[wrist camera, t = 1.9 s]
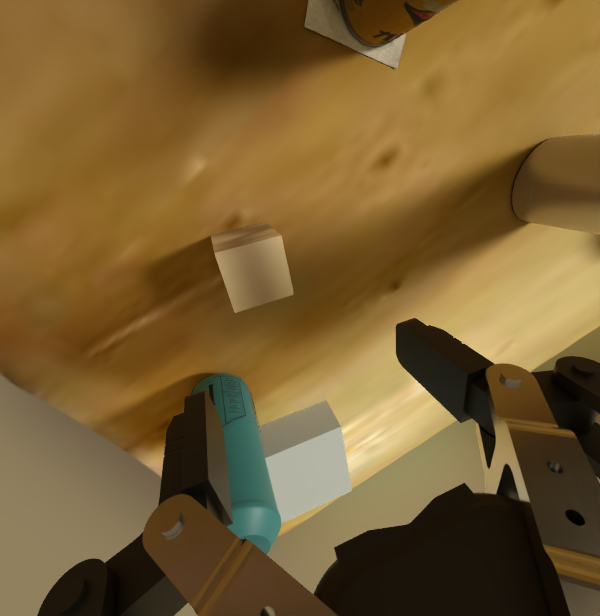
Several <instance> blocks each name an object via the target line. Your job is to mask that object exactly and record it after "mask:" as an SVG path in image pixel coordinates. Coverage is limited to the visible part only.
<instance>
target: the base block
mask: <svg viewBox="0 0 600 616" xmlns="http://www.w3.org/2000/svg"><path fill="white" fill-rule="evenodd" d="M258 429H259V433H260V438H261V444H262V448H263V452H264V456H265V460H266V464H267V468H268V472H269V476H270V480H271V484H272V489H273V493H274V497H275V501H276V505H277V509H278V511H279V514H280V517H281V524H282V523H284V522H286V521H288V520H290V519H292V518H295V517H297V516H299V515H301V514H303V513H305V512H307V511H309V510H312V509H314V508H316V507H318V506H320V505H322V504H324V503H327V502H329V501H331V500H333V499H335V498H337V497H339V496H342V495H344V494H346V493H348V492H350V491H352V489H351V483H350V477H349V471H348V465H347V459H346V453H345V448H344V442H343V436H342V430H341V426H340V424H339V422H338V420H337V419H336V417H335V415H334V413H333V411H332V410H331V408H330V406H329V404H328V402H327V401H326V400H325V401H323V402H320V403H318V404H315V405H313V406H310V407H308V408H305V409H303V410H300V411H297V412H295V413H292V414H290V415H287V416H285V417H282V418H280V419H277V420H275V421H272V422H270V423H267V424H264V425H262V426H259V428H258ZM260 430H261V432H260ZM262 440H263V441H262Z"/></svg>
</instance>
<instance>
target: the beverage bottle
mask: <svg viewBox="0 0 600 616" xmlns="http://www.w3.org/2000/svg"><path fill="white" fill-rule="evenodd" d="M204 390H207V392H208V393H209V396H210V398H211V400H212V402H213V405H214V407H215V409H216V411H217V413H218V416H219V418H220V421H221V424H222V428H223V433H224V442H225V452H226V461H227V471H228V480H229V489H230V499H231V508H232V518H233V524H231V525H229V526H226V527H227V528H228V529H230V530H231V531H232V532H233V533H234V534H235V535H237V536H238V537H239V538H240V539H242V540H243V539H247V540H249V541H250V542H252V543H253V544H254V545H256V546H257V547H258V548H259V549H260V550H262V551H263V552H264V553H265V554H266V555H267V553H268V552H269V550H270V549H271V547H272V545H273V543H274V542H275V539H276V538H277V536H278V533H279V531H280V528H281V517H280V514H279V511H278V509H277V505H276V501H275V497H274V493H273V489H272V484H271V480H270V476H269V472H268V468H267V464H266V460H265V456H264V452H263V448H262V444H261V438H260V433H259V429H258V428H259V426H258V425H257V421H256V417H255V415H256V411H255V413H254V409H255V406H254V408H253V404H254V402H253V404H252V400H253V399H252V395H251V396H250V392H249V389H248V387H247V385H246V384H245V382H244V381H243V380H242V379H240V378H239V377H237V376H235V375H232V374H215V375H212V376H209V377H207V378H205V379H203V380H202V381H200V382H199V383H198V384H197V385H196V387H195V388H194V390H193V391H192V394H190V395H193V394H196V393H198V392H201V391H204ZM251 399H252V400H251ZM256 416H257V415H256ZM260 432H261V430H260ZM262 441H263V440H262Z"/></svg>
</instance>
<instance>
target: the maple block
mask: <svg viewBox="0 0 600 616" xmlns="http://www.w3.org/2000/svg"><path fill="white" fill-rule="evenodd" d="M211 240H212V245H213V249H214V254H215V257H216V260H217V263H218V265H219V268H220V271H221V274H222V277H223V280H224V283H225V286H226V289H227V292H228V295H229V298H230V301H231V304H232V307H233V310H234V312H235V313H237V312H240V311H243V310H247V309H250V308H253V307H256V306H259V305H263V304H266V303H269V302H272V301H275V300H279V299H282V298H285V297H288V296H291V295H294V292H293V287H292V282H291V278H290V273H289V268H288V264H287V259H286V255H285V250H284V245H283V241H282V236H281V235H280V234H279V233H278V232H277V231H276V230H274V229H273V228H272V227H271V226H269V225H268V224H267V223H266V222H262V223H258V224H254V225H250V226H246V227H243V228H239V229H235V230H231V231H227V232H223V233H219V234H215V235H211Z"/></svg>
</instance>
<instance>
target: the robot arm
mask: <svg viewBox="0 0 600 616" xmlns="http://www.w3.org/2000/svg"><path fill="white" fill-rule="evenodd" d="M512 205H513V209H514V212H515V214H516V216H517V217H518V218H519V219H521V220H522V221H525V222H530V223H536V224H542V225H548V226H554V227H559V228H564V229H570V230H576V231H582V232H588V233H594V234H599V235H600V134H589V135H576V136H563V137H555V138H550V139H548V140H546V141H544V142H543V143H541V144H540V145H539V146H538V147H536V148H535V149H534V150H533V152H532V153H531V154H530V155H529V156H528V157H527V159H526V160H525V162H524V163H523V165H522V167H521V169H520V171H519V172H518V175H517V178H516V180H515V183H514V188H513V193H512ZM396 355H397V358H398V361H399V362H400V364H401V365H402V366H403V368H405V369H406V370H407V371H408V372H409V373H410V374H411V375H412V376H413V377H414V378H415V379H416V380H417V381H418V382H419V383H420V384H421V385H422V386H423V387H424V388H425V389H426V390H427V391H428V392H429V393H430V394H431V395H432V396H433V397H434V398H435V399H436V400H437V401H439V402H440V403H441V404H442V405H443V406H444V407H445V408H446V409H447V410H448V411H449V412H450V413H451V414H452V415H453V416H454V417H455V418H456V419H457V420H458V421H459V422H460V423H462V422H465V421H467V420H469V419H471V418H472V419H474V420H475V421H476V422H477V424H476V432H477V437H478V442H479V448H480V452H481V458H482V463H483V468H484V474H485V493H473V492H472V491H471V490H470V489H469V487H468V486H467V485H466V484H465V483H463V484H461V485H459V486H458V487H455V488H453V489H451V490H449V491H447V492H445V493H443V494H441V495H439V496H437V497H435V498H434V499H433V500H432V501H431V502H430V503H429V504H428V505H427V506H426V508H425V509H424V510H423V511H422V512H421V513H420V514H419V515H418V516H417V517H416V518H415V519H414V520H413V521H412V522H411V523H409V524H407V525H402V526H396V527H389V528H382V529H375V530H369V531H367V532H365V533H363V534H361V535H359V536H357V537H355V538H353V539H351V540H349V541H347V542H344V543H343V544H341V545H338V546H337V547H335V548H334V549H335V552H336V557H337V560H336V561H335V562H334V563H333V564H332V565H331V566H330V567H329V569H328V570H327V571H326V573H325V574H324V575H323V577H322V579H321V580H320V582H319V584H318V585H317V588H316V590H315V592H314V594H312V593H311V592H310V591H309V590H307V589H306V588H305V587H304V586H303V585H302V584H300V583H299V582H298V581H297V580H295V578H293V577H292V576H291V575H290V574H289V573H287V572H286V571H285V570H284V569H283V568H282V567H280V566H279V565H278V564H277V563H276V562H275V561H273V560H272V559H271V558H270V557H269V556H267V555H266V554H265V553H264V552H263V551H262V550H260V549H259V548H258V547H257V546H256V545H254V544H253V543H252V542H250V541H249V540H247V539H243V540H242V539H240V538H239V537H238V536H237V535H235V534H234V533H233V532H232V531H231V530H230V529H228V528H227V527H226V526H229V525H231V524H233V518H232V508H231V499H230V489H229V480H228V471H227V461H226V452H225V442H224V433H223V428H222V424H221V421H220V418H219V416H218V413H217V411H216V409H215V407H214V405H213V402H212V400H211V398H210V396H209V393H208V392H207V390H204V391H201V392H198V393H196V394H193V395H190V396H187V397H186V398H185V409H184V413H182V414H179V415H176V416H174V417H173V419H172V421H171V423H170V425H169V427H168V429H167V433H166V446H165V452H164V455H165V457H164V461H163V470H162V480H161V489H160V498H159V505H158V507H157V508H156V509H155V510H154V512H153V513H152V514H151V516H150V517H149V519H148V521H147V523H146V525H145V528H144V531H143V533H142V534H141V535H140V536H139V537H138V538H136V539H135V540H134V541H133V542H132V543H130V544H129V545H128V546H127V547H125V548H124V549H122V550H121V551H120V552H119V553H117V554H116V555H115V556H113V557H112V558H111V559H109V560H108V561H107V562H105V563H104V562H103V561H101V560H100V559H88V560H85V561H82V562H80V563H79V564H77V565H75V566H74V567H73V568H71V569H70V570H68V571H67V572H66V573H65V574H64V575H63V576H62V577H61V578H60V579H59V580H58V582H56V584H55V585H54V586H53V587H52V589H51V590H50V591H49V593H48V594H47V596H46V598H45V600H44V601H43V604H42V605H41V608H40V610H39V613H38V615H37V616H174V615H175V614H176V613H177V612H178V611H179V610H181V608H183V607H184V606H185V605H186V604H187V603H189V604H190V605H191V606H192V608H193V609H194V610H195V612H196V614H197V615H198V616H600V483H599V481H598V479H597V477H598V478H599V479H600V425H599V424H598V423H596V422H595V420H596V418H597V416H598V414H600V363H598V362H596V361H593V360H590V359H586V358H583V357H575V356H569V357H563V358H560V359H558V360H557V361H556V364H555V367H554V370H552V371H541V372H532V373H530V372H529V371H527V370H525V369H523V368H521V367H519V366H515V365H511V364H494V363H492V362H491V361H489V360H488V359H486V358H485V357H483V356H482V355H480V354H479V353H477V352H476V351H474V350H473V349H471V348H470V347H468V346H467V345H465V344H462V342H461V341H459V340H458V339H456V338H453V336H452V335H450V334H449V333H447V332H446V331H444V330H442V329H439V328H436V327H433V326H430V325H429V326H426V325H425V324H424V323H422V322H421V321H419V320H418V319H416V318H413V319H410V320H407V321H404V322H401V323H398V324H397V325H396ZM596 476H597V477H596Z"/></svg>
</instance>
